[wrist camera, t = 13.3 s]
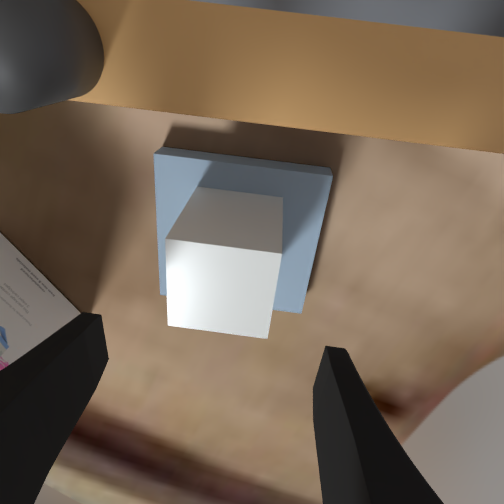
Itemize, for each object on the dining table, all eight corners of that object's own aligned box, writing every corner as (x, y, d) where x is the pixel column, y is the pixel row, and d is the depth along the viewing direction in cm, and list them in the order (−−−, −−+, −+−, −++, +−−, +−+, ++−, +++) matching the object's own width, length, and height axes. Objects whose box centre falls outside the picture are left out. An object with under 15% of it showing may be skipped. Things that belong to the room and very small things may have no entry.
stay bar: (656, 56, 8) (822, 63, 6) (592, 160, 10) (704, 203, 7) (-79, -30, 9) (-232, -60, 6) (-44, 82, 10) (-158, 95, 7)
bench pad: (330, 167, 16) (332, 176, 15) (300, 299, 20) (301, 313, 19) (161, 146, 16) (153, 153, 15) (166, 282, 21) (160, 294, 20)
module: (283, 197, 16) (281, 253, 12) (271, 268, 18) (267, 338, 14) (197, 186, 16) (165, 238, 12) (195, 258, 18) (168, 325, 14)
